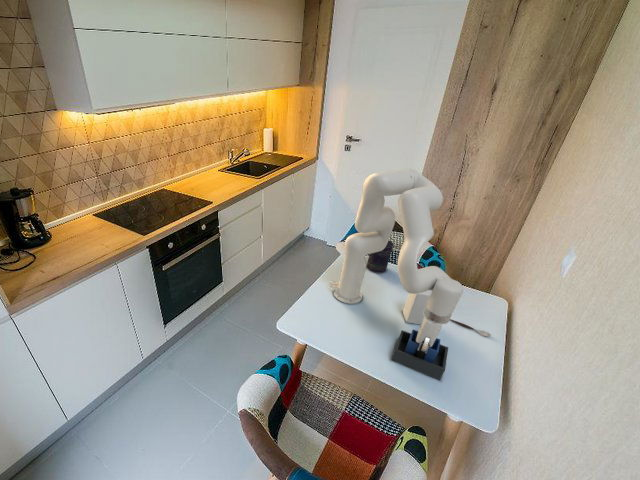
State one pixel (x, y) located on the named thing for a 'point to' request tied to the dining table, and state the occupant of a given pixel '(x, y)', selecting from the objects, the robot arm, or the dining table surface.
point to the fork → (470, 328)
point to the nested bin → (413, 345)
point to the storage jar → (380, 259)
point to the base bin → (416, 363)
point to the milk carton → (416, 307)
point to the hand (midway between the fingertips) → (420, 351)
